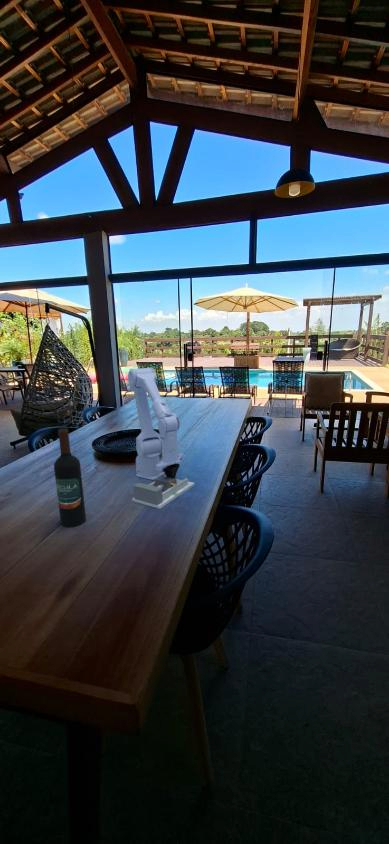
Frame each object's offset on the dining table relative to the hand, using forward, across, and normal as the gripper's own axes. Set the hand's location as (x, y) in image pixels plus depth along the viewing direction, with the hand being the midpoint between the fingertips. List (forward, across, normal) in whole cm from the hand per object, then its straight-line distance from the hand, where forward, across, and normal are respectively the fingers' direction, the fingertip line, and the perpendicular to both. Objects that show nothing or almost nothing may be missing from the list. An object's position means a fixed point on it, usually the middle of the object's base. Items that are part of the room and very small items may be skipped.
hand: (171, 482), depth 137 cm
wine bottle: (+3, -35, +13) cm, 38 cm away
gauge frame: (+2, -4, 0) cm, 5 cm away
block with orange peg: (+1, -5, -1) cm, 5 cm away
